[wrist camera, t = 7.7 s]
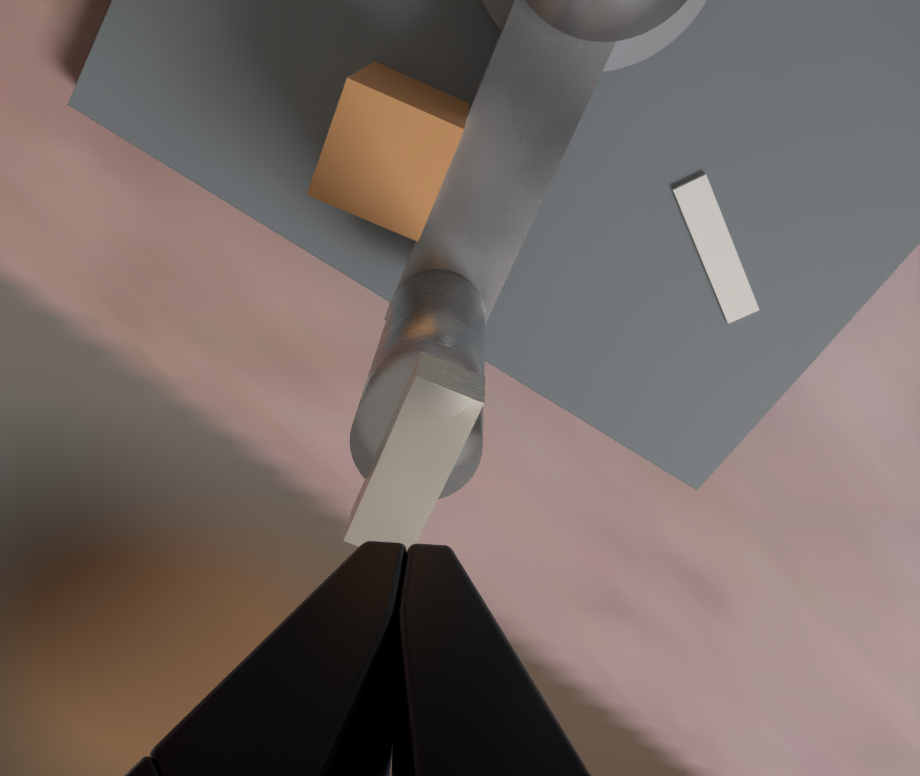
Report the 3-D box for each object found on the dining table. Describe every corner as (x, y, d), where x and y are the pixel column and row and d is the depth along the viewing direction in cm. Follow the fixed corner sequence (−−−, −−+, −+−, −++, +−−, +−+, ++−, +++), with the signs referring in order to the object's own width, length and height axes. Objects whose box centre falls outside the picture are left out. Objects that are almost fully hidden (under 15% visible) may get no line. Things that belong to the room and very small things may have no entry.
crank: (553, -214, 14) (605, -389, 7) (730, -125, 14) (923, -218, 8) (344, 323, 18) (260, 510, 11) (487, 381, 18) (485, 592, 12)
